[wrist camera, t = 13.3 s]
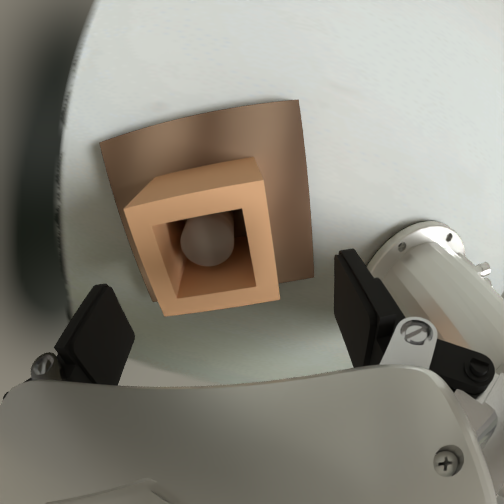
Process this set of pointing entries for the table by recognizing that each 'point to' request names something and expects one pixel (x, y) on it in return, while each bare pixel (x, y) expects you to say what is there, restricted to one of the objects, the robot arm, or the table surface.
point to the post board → (216, 151)
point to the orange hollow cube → (198, 204)
